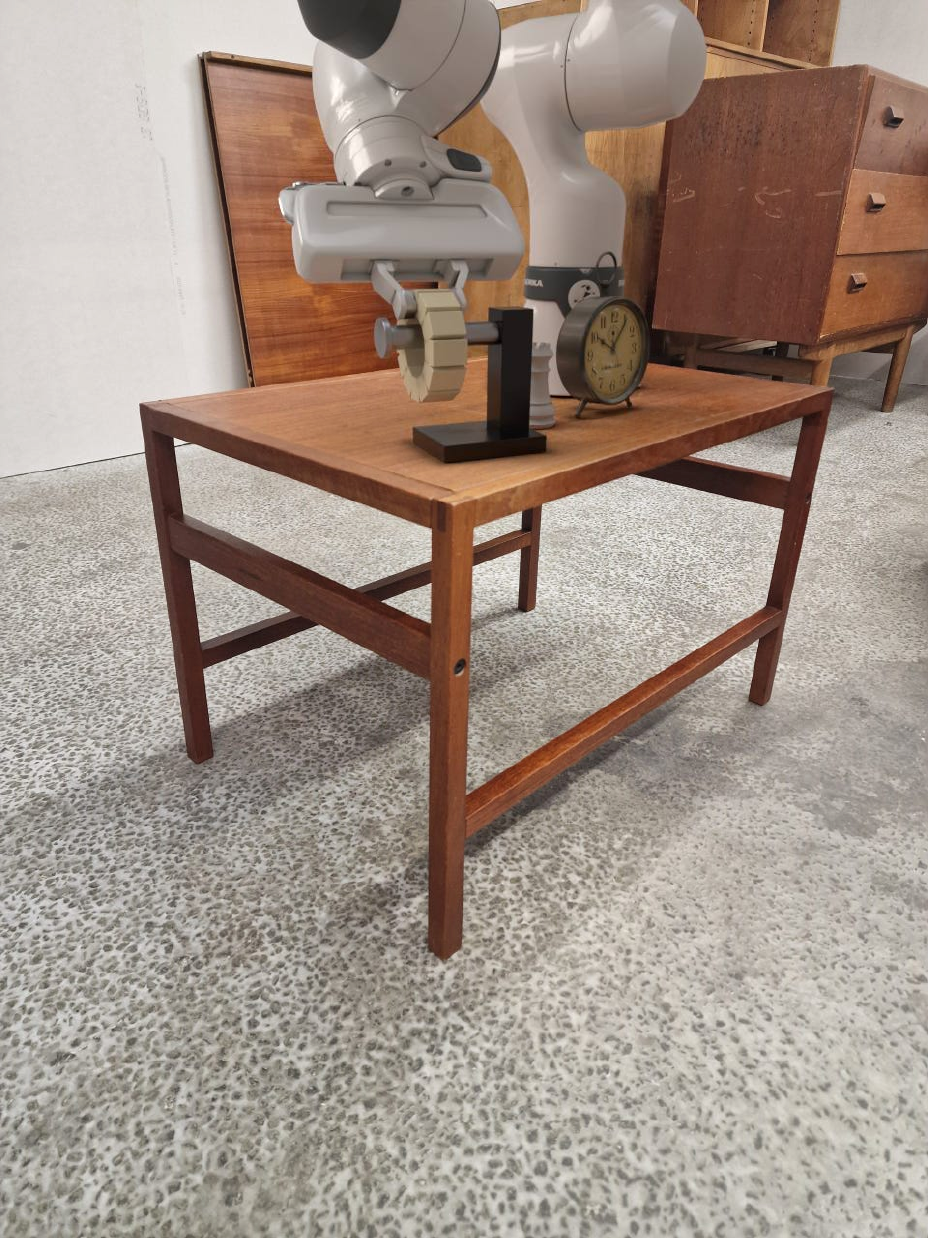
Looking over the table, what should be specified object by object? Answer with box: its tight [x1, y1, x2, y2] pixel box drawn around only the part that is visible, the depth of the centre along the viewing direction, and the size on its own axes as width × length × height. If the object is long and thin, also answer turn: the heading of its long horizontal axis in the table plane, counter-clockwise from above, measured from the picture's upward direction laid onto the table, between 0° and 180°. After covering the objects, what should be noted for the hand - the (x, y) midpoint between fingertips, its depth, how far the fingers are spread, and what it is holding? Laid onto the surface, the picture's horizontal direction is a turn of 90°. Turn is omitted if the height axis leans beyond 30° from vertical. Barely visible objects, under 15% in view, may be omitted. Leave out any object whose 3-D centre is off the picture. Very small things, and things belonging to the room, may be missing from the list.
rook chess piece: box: [529, 342, 557, 430], centre depth 81 cm, size 4×4×8 cm
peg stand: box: [373, 305, 548, 464], centre depth 71 cm, size 14×8×12 cm, turn 113°
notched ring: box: [396, 288, 468, 404], centre depth 69 cm, size 9×3×9 cm, turn 24°
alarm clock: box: [556, 251, 651, 419], centre depth 85 cm, size 11×5×16 cm, turn 129°
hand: (433, 313), depth 67 cm, fingers closed on notched ring, 3 cm apart
